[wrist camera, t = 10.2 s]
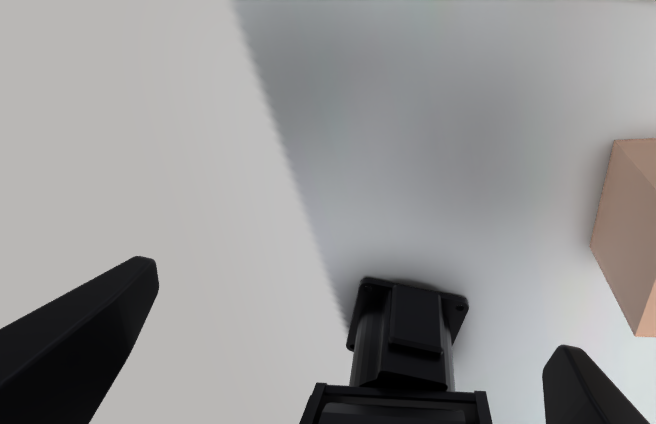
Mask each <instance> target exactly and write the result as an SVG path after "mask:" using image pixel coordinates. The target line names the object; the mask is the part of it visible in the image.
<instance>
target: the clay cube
mask: <svg viewBox="0 0 656 424" xmlns="http://www.w3.org/2000/svg"><path fill="white" fill-rule="evenodd" d="M589 247H590V249H591V251H592V253H593V255H594V257H595V259H596V260H597V262H598V264H599V266H600V268H601V270H602V272H603V274H604V276H605V278H606V280H607V282H608V284H609V286H610V288H611V290H612V292H613V294H614V296H615V298H616V300H617V302H618V304H619V306H620V308H621V310H622V312H623V314H624V316H625V318H626V320H627V322H628V324H629V326H630V328H631V330H632V332H633V334H634V336H635V337H656V138H649V139H629V140H614V144H613V148H612V152H611V157H610V161H609V165H608V169H607V174H606V178H605V182H604V186H603V190H602V195H601V199H600V203H599V207H598V212H597V216H596V220H595V224H594V228H593V233H592V237H591V241H590V245H589Z"/></svg>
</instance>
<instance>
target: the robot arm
mask: <svg viewBox="0 0 656 424" xmlns="http://www.w3.org/2000/svg"><path fill="white" fill-rule="evenodd" d="M366 286H370V287H366ZM158 290H159V281H158V274H157V267H156V263H155V261H154V260H153V259H151V258H146V257H141V256H135V257H133V258H131V259H129V260H127V261H125V262H124V263H121V264H120V265H118V266H116V267H114V268H112V269H110V270H109V271H107V272H105V273H103V274H101V275H99V276H97V277H96V278H94V279H92V280H90V281H88V282H87V283H84V284H83V285H81V286H79V287H77V288H75V289H73V290H72V291H70V292H68V293H66V294H64V295H63V296H60V297H59V298H57V299H55V300H53V301H51V302H49V303H48V304H46V305H44V306H42V307H40V308H38V309H36V310H35V311H33V312H31V313H29V314H27V315H25V316H24V317H22V318H20V319H18V320H16V321H14V322H13V323H11V324H9V325H7V326H5V327H3V328H1V329H0V424H89V422H90V421H91V419H92V417H93V416H94V414H95V412H96V410H97V409H98V407H99V406H100V404H101V402H102V401H103V399H104V397H105V396H106V394H107V392H108V390H109V389H110V387H111V385H112V384H113V382H114V380H115V379H116V377H117V375H118V374H119V372H120V370H121V369H122V367H123V365H124V364H125V362H126V360H127V358H128V356H129V355H130V353H131V350H132V349H133V347H134V345H135V342H136V340H137V338H138V336H139V334H140V331H141V329H142V327H143V325H144V323H145V320H146V318H147V316H148V314H149V312H150V309H151V307H152V305H153V303H154V300H155V298H156V296H157V294H158ZM457 305H462V306H457ZM468 310H469V305H468V301H467V300H466V299H465V298H463V297H458V296H454V295H449V294H444V293H439V292H434V291H429V290H424V289H419V288H415V287H410V286H405V285H400V284H395V283H390V282H385V281H381V280H376V279H371V278H365V279H363V280H361V282H360V286H359V290H358V294H357V299H356V303H355V307H354V312H353V316H352V321H351V325H350V329H349V334H348V338H347V343H346V347H347V349H348V350H350V351H353V352H354V356H353V363H352V370H351V377H350V384H349V386H340V385H327V383H316V385H315V388H314V391H313V393H312V395H311V396H310V397H309V400H308V402H307V405H306V408H305V411H304V413H303V416H302V418H301V421H300V423H299V424H492V419H491V415H490V410H489V405H488V400H487V396H486V391H474V393H472V392H455V382H454V369H453V356H452V345H453V343H454V341H455V339H456V336H457V334H458V332H459V330H460V327H461V325H462V323H463V321H464V319H465V316H466V314H467V312H468ZM542 379H543V392H544V405H545V417H546V424H650V423H649V422H648V421H647V420H646V419H645V418H644V417H643V415H642V414H641V413H640V412H639V411H638V410H637V409H636V408H635V407H634V406H633V404H632V403H631V402H630V401H629V400H628V399H627V398H626V397H625V396H624V394H623V393H622V392H621V391H620V390H619V389H618V388H617V387H616V386H615V385H614V383H613V382H612V381H611V380H610V379H609V378H608V377H607V376H606V375H605V373H604V372H603V371H602V370H601V369H600V368H599V367H598V366H597V365H596V364H595V362H594V361H593V360H592V359H591V358H590V357H589V356H588V355H587V354H586V352H585V351H583V350H582V349H580V348H578V347H573V346H568V345H560V346H558V347H557V349H556V350H555V352H554V353H553V355H552V356H551V358H550V359H549V361H548V362H547V364H546V365H545V367H544V369H543V375H542Z"/></svg>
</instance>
